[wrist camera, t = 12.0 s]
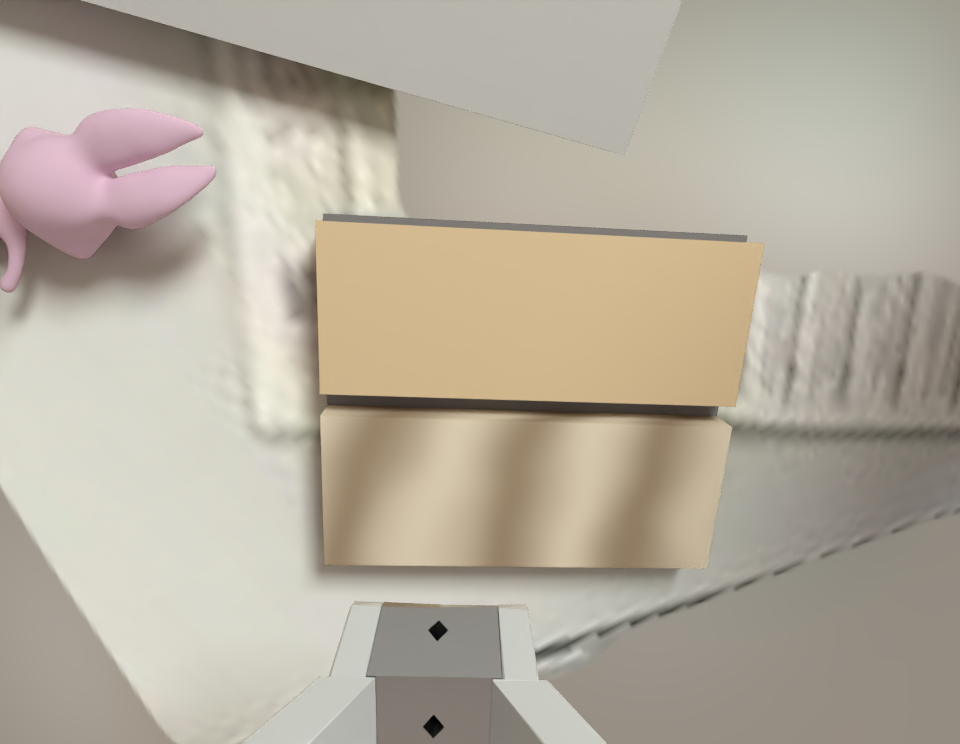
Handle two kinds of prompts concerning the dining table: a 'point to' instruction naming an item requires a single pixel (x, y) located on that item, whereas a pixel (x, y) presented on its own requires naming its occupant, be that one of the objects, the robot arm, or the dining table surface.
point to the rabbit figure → (92, 182)
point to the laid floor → (531, 316)
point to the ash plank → (519, 487)
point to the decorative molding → (462, 51)
